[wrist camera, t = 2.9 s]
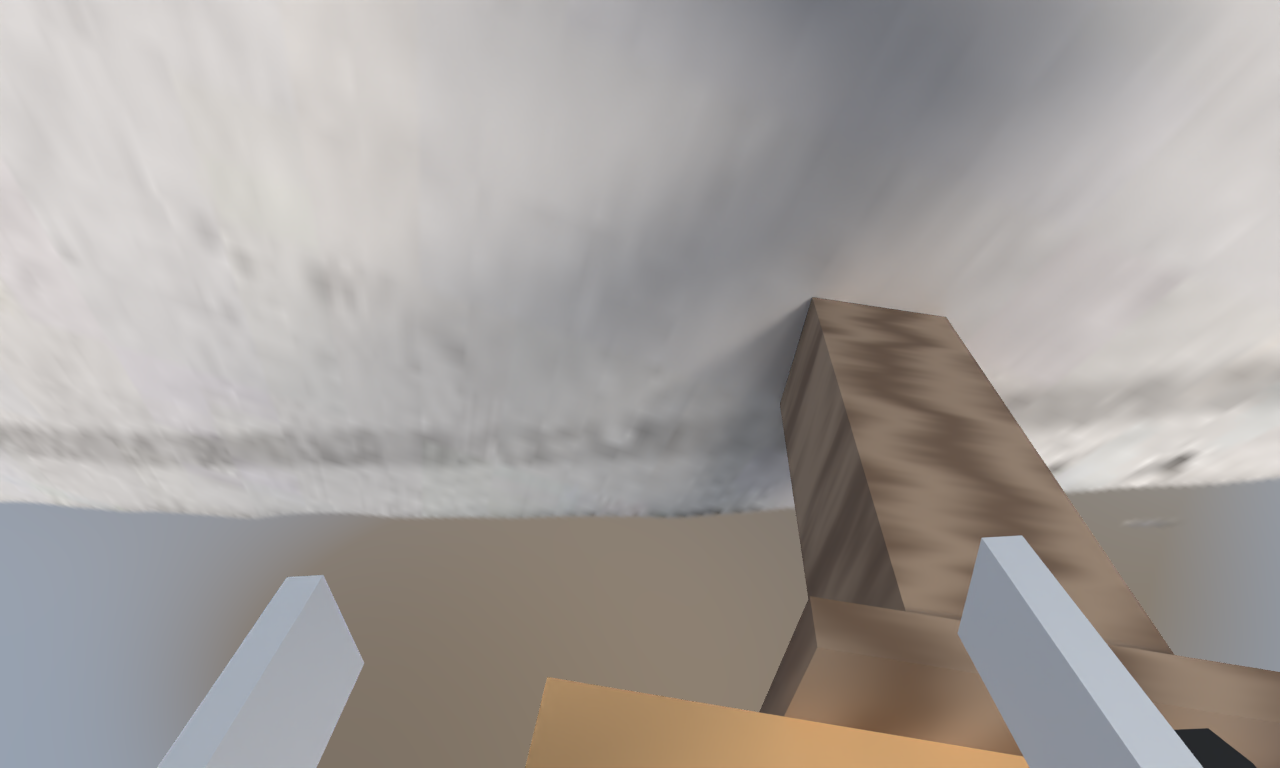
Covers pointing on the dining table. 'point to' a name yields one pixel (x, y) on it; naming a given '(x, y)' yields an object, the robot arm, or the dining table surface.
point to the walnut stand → (946, 545)
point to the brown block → (716, 737)
